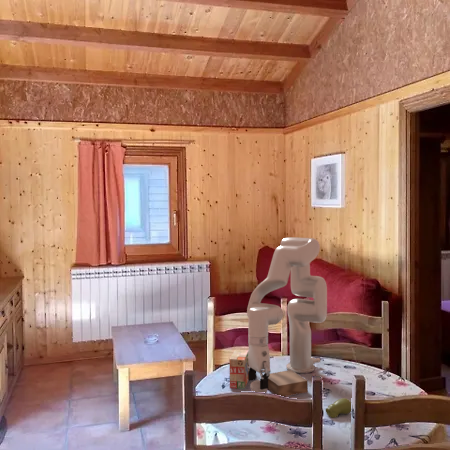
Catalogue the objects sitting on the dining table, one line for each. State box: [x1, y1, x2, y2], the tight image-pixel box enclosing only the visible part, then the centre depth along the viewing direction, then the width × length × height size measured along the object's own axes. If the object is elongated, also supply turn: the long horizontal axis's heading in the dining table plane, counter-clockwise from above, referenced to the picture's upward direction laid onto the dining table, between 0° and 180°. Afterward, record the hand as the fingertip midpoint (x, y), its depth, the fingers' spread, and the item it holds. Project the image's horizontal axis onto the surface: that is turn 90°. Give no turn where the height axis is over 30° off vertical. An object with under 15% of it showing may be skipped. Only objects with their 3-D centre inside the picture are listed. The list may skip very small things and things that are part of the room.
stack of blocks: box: [229, 349, 249, 390], centre depth 205 cm, size 21×6×12 cm, turn 168°
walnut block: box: [267, 369, 309, 397], centre depth 194 cm, size 13×13×5 cm
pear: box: [325, 397, 352, 419], centre depth 171 cm, size 6×5×10 cm
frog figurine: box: [249, 379, 268, 394], centre depth 185 cm, size 6×7×7 cm
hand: (258, 384), depth 184 cm, fingers open, 9 cm apart
